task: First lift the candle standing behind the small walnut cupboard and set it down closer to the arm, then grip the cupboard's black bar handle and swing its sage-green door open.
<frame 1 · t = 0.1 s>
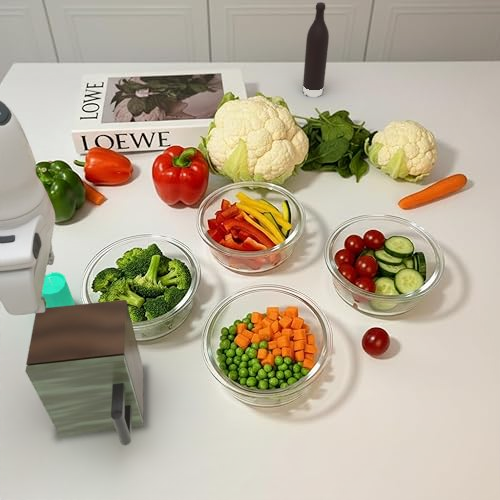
hand: (44, 284, 81), 33 cm above the table, tool pointing down, fingers open, 8 cm apart
candle: (63, 315, 119), on the table
cupboard door: (88, 416, 90), point 11 cm above the table, hinge at 0.0°
wine bottle: (312, 94, 187), on the table
cupboard: (104, 399, 104), on the table
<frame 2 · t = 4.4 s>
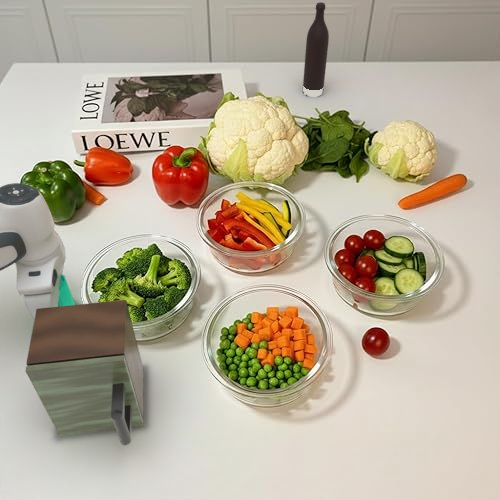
hand: (58, 301, 115), 5 cm above the table, tool pointing down, fingers closed on candle, 5 cm apart
candle: (63, 315, 119), on the table, touching gripper
everything else where it was.
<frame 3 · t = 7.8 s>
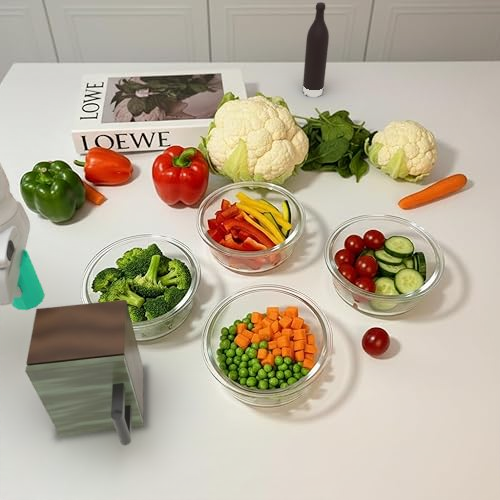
hand: (20, 281, 99), 20 cm above the table, tool pointing down, fingers closed on candle, 5 cm apart
candle: (28, 298, 102), point 15 cm above the table, touching gripper
everything else where it was.
when the fingers open (4 cm above the table, at t = 11.7 s): candle stays where it is, on the table.
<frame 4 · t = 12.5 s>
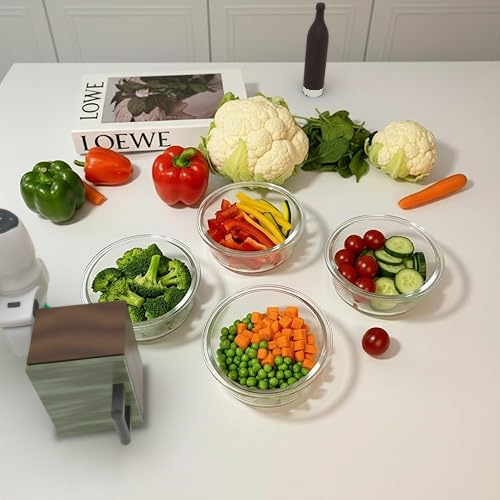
hand: (41, 329, 109), 6 cm above the table, tool pointing down, fingers open, 8 cm apart
candle: (50, 346, 113), on the table
everything else where it was.
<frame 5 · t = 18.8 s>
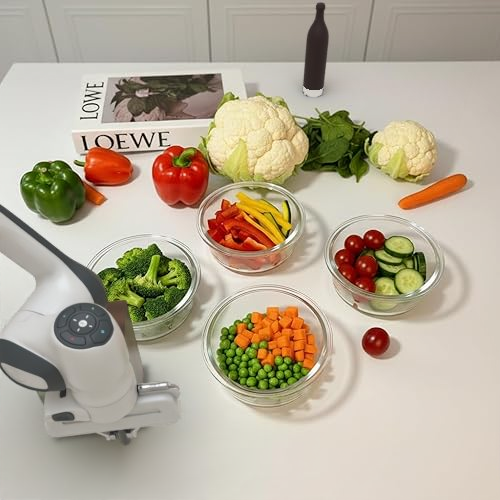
hand: (122, 434, 88), 10 cm above the table, tool pointing down, fingers closed on cupboard door, 2 cm apart
cupboard door: (88, 416, 90), point 11 cm above the table, hinge at 0.0°, touching gripper
everything else where it was.
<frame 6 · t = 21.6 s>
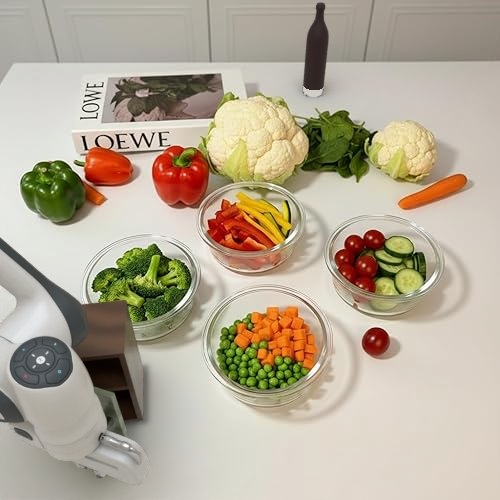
hand: (93, 467, 85), 10 cm above the table, tool pointing down, fingers closed on cupboard door, 2 cm apart
cupboard door: (73, 434, 87), point 11 cm above the table, hinge at 25.7°, touching gripper
everything else where it was.
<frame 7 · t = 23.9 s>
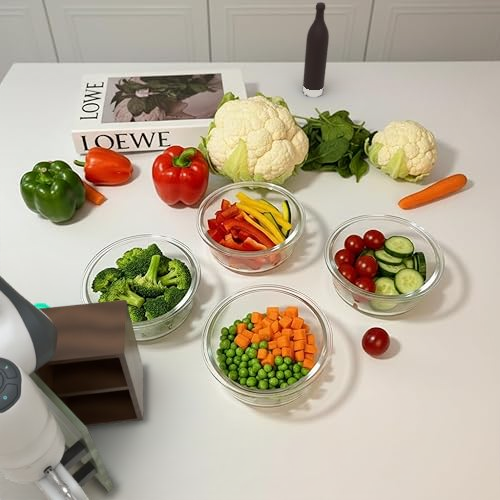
hand: (54, 487, 82), 10 cm above the table, tool pointing down, fingers open, 3 cm apart
cupboard door: (53, 446, 86), point 11 cm above the table, hinge at 49.5°
everything else where it was.
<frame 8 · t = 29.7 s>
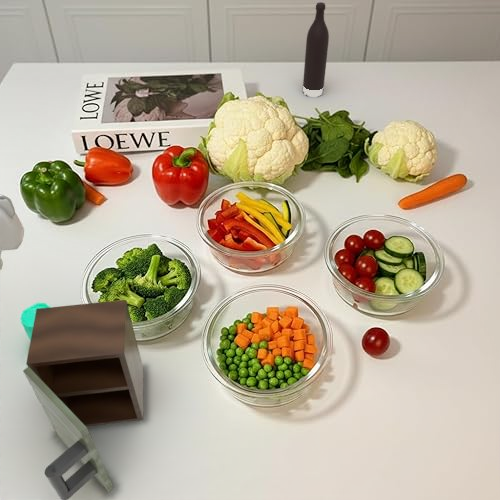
nothing on the table moved.
at the end: cupboard door at +50° (first picture: +0°); candle inside the target area (0.2 cm from its centre), on the table; candle tilted 0° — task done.
